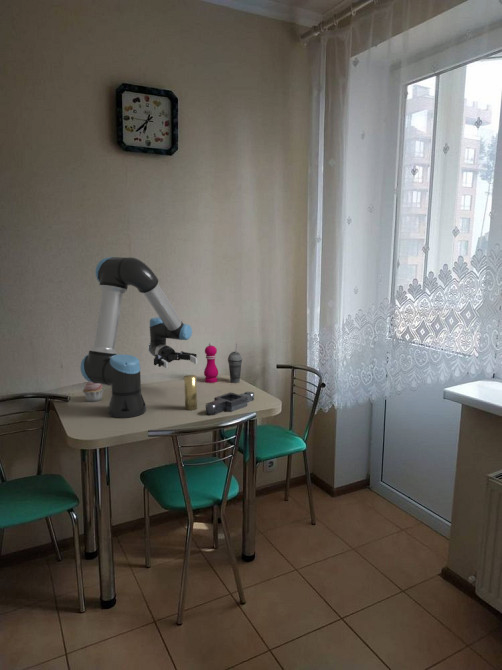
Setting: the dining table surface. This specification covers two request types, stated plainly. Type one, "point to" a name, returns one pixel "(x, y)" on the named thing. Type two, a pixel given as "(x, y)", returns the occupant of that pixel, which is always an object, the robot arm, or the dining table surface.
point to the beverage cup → (235, 366)
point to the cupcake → (93, 391)
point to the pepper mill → (211, 364)
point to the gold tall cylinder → (190, 392)
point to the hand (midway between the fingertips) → (182, 363)
